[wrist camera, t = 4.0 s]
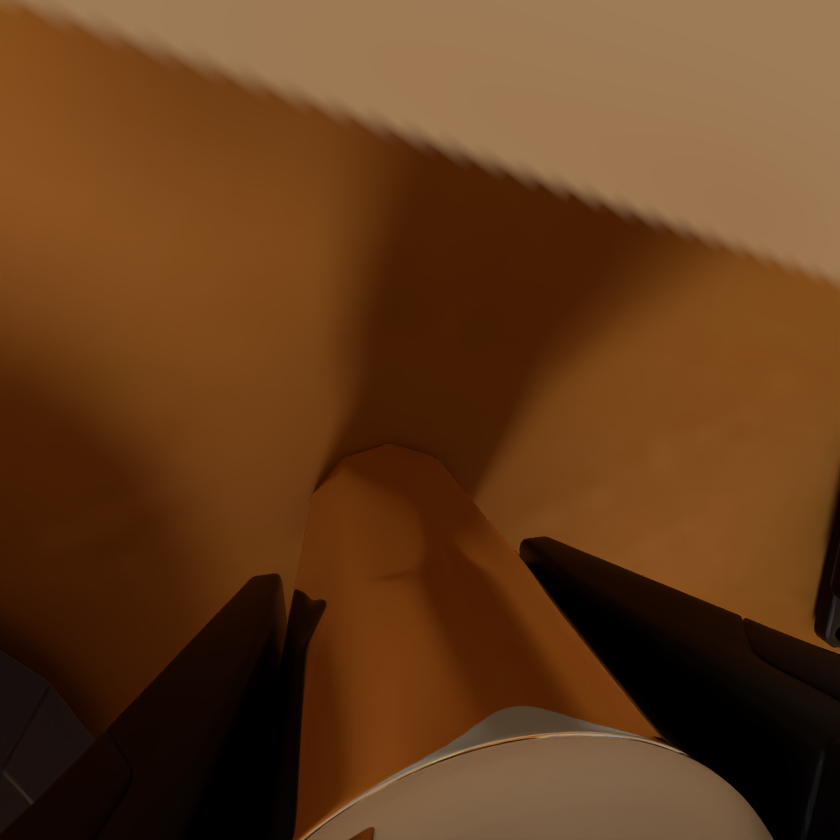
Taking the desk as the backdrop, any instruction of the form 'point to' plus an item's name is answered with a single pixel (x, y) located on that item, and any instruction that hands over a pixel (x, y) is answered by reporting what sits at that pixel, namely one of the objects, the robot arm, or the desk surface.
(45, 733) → the bowl
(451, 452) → the desk surface
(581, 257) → the desk surface
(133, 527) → the desk surface
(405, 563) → the milkshake
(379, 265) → the desk surface
